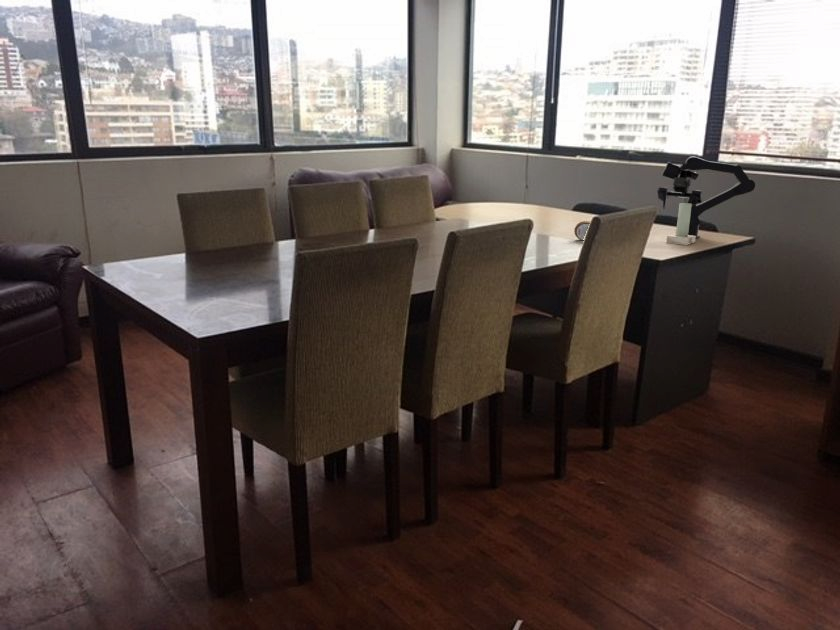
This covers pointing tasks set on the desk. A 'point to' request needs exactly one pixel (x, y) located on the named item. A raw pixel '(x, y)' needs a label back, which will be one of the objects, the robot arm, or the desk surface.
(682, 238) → the plinth
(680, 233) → the post
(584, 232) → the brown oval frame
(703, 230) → the desk surface
